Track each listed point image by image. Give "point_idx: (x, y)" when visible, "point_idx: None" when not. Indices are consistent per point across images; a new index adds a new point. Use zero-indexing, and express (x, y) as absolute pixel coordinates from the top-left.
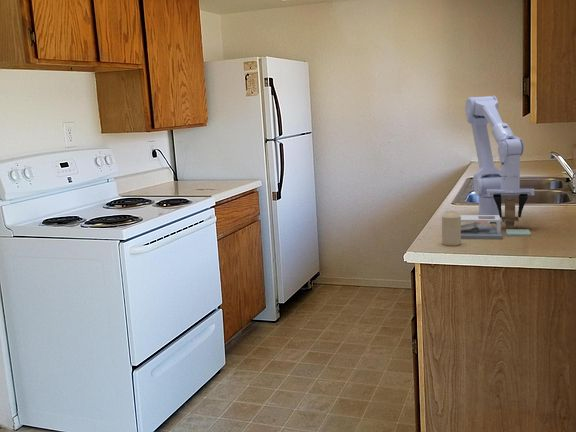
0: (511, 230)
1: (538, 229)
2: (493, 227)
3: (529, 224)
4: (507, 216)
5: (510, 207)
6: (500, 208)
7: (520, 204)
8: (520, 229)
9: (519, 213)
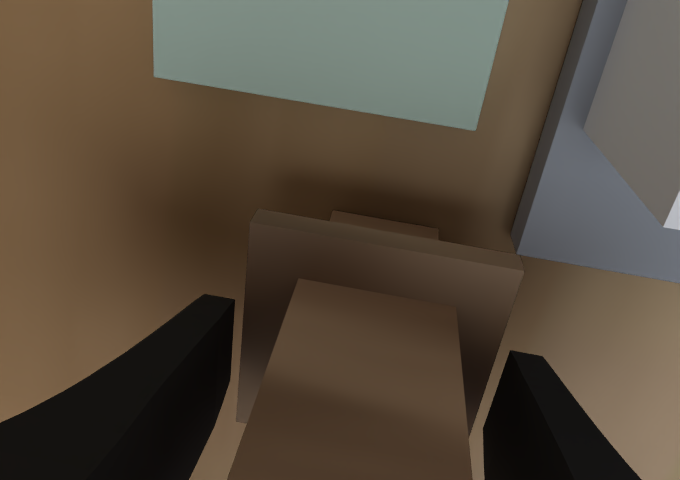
0: (413, 33)
1: (42, 170)
2: (642, 209)
3: None
4: (421, 326)
5: (353, 447)
6: (587, 467)
7: (91, 444)
8: (267, 90)
9: (198, 326)
